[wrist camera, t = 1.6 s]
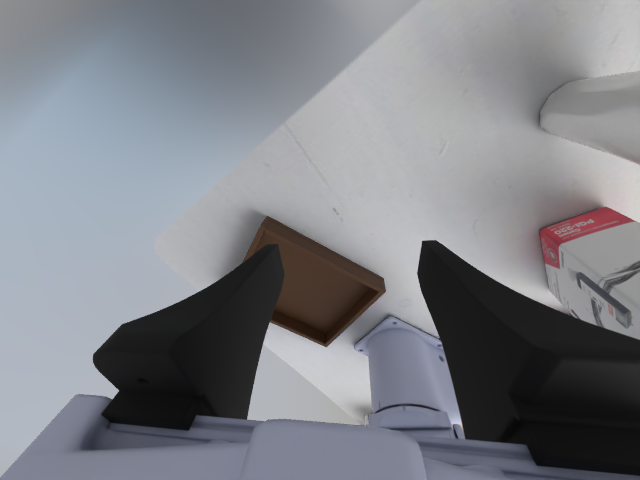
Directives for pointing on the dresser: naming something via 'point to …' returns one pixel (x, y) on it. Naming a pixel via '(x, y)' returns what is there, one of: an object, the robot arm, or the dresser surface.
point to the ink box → (596, 268)
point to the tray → (316, 285)
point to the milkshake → (598, 114)
